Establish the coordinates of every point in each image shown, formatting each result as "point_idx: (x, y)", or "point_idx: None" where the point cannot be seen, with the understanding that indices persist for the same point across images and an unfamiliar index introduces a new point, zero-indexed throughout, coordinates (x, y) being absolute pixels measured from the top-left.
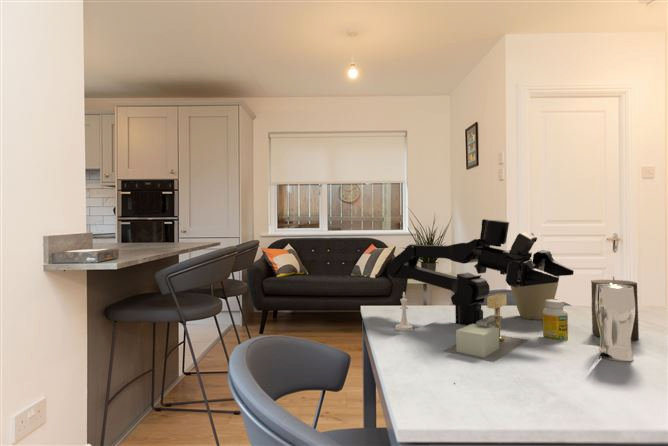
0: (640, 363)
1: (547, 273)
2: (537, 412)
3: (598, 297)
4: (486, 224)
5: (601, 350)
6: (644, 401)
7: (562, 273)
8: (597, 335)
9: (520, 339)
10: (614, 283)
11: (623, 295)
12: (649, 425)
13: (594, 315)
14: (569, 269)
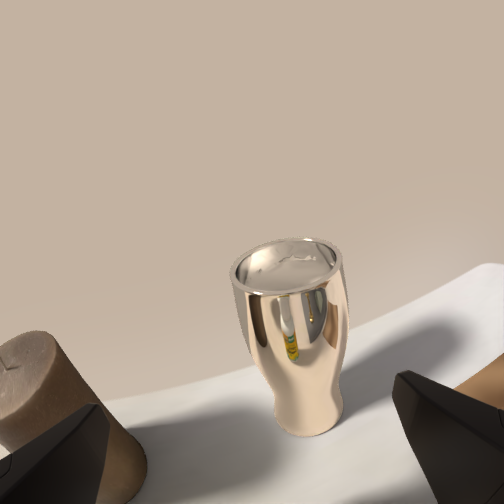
0: None
1: (453, 404)
2: None
3: (343, 306)
4: None
5: (337, 412)
6: (456, 291)
7: (91, 480)
8: (133, 495)
9: None
10: (49, 358)
11: (319, 258)
12: (489, 266)
13: None
14: (88, 416)
